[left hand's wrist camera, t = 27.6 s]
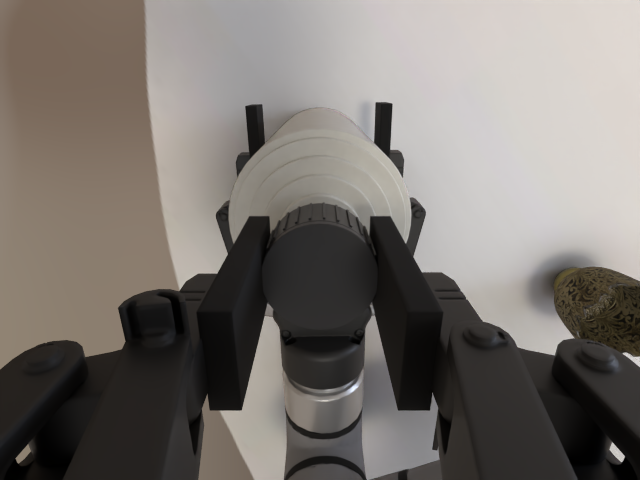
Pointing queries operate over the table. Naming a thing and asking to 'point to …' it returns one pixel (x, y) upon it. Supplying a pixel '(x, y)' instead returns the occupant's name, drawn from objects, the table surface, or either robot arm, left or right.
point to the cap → (319, 267)
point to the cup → (600, 307)
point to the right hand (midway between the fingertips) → (318, 104)
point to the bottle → (319, 174)
